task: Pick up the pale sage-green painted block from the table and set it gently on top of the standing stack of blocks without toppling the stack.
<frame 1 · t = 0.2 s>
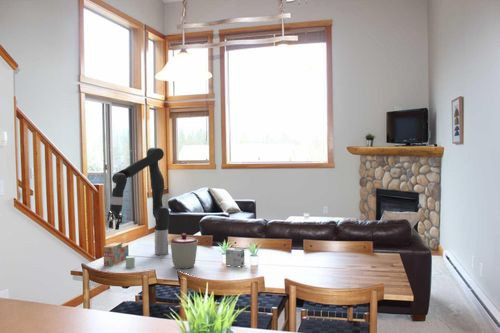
hand: (113, 228, 278), 22 cm above the table, tool pointing down, fingers open, 8 cm apart
canister: (184, 267, 270), on the table
stack of blocks: (116, 262, 281), on the table
light bulb box: (235, 265, 273), on the table
sage block: (130, 266, 270), on the table
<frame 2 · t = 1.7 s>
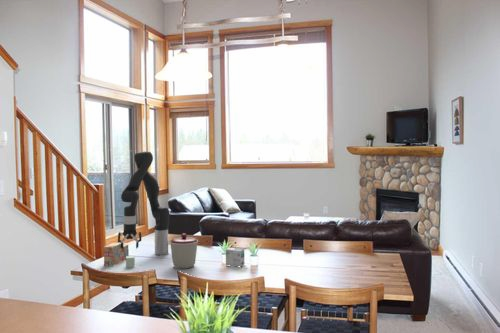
hand: (129, 248, 269), 11 cm above the table, tool pointing down, fingers open, 8 cm apart
nothing on the table moved.
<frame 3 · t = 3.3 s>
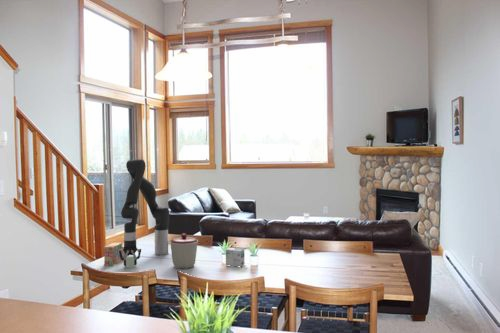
hand: (130, 265, 270), 0 cm above the table, tool pointing down, fingers closed on sage block, 5 cm apart
sage block: (130, 266, 270), on the table, touching gripper
everything else where it was.
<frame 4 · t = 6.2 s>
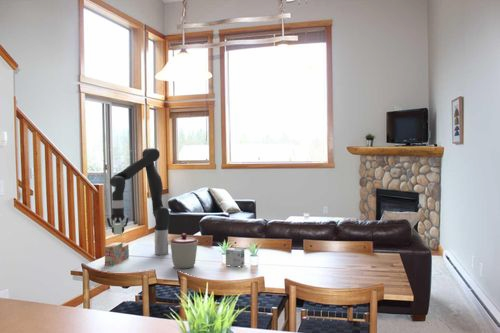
hand: (118, 232, 279), 19 cm above the table, tool pointing down, fingers closed on sage block, 5 cm apart
sage block: (118, 233, 279), point 19 cm above the table, touching gripper
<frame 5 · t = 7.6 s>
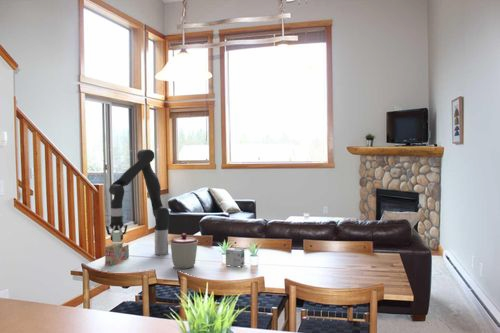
hand: (116, 240, 280), 14 cm above the table, tool pointing down, fingers closed on sage block, 5 cm apart
sage block: (116, 241, 280), point 13 cm above the table, touching gripper
when the fingers open (13 cm above the table, at t = 8.6 s): sage block stays where it is, resting on stack of blocks.
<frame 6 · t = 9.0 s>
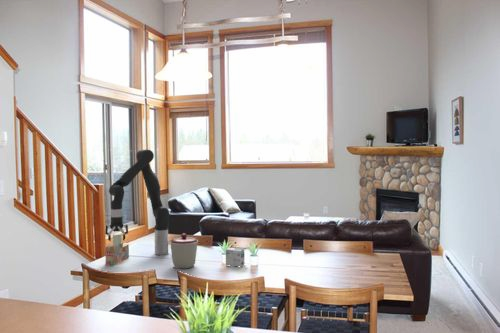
hand: (116, 240, 280), 14 cm above the table, tool pointing down, fingers open, 8 cm apart
stack of blocks: (117, 261, 283), on the table, touching sage block
sage block: (117, 243, 280), point 12 cm above the table, touching stack of blocks
everything else where it was.
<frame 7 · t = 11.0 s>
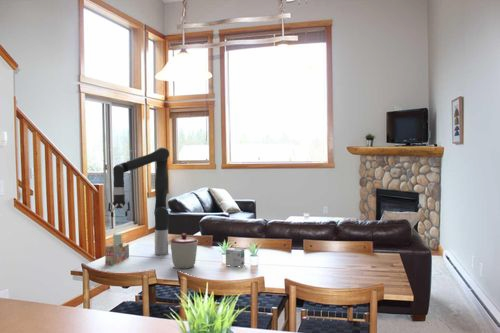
hand: (119, 217, 295), 27 cm above the table, tool pointing down, fingers open, 8 cm apart
sage block: (117, 243, 282), point 12 cm above the table, touching stack of blocks
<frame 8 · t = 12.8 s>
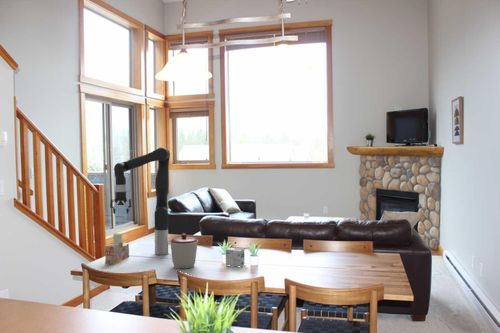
hand: (120, 213, 304), 28 cm above the table, tool pointing down, fingers open, 8 cm apart
at the end: sage block inside the target area on the stack of blocks (1.2 cm from its centre), point 12.5 cm above the stack of blocks's base; sage block tilted 0°; the gripper is holding nothing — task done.
